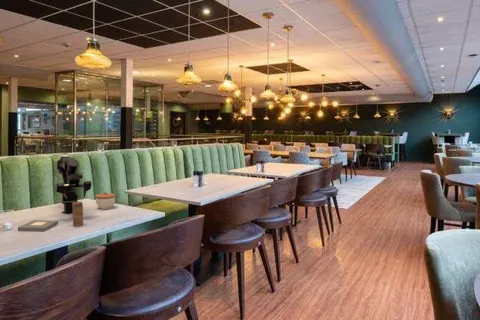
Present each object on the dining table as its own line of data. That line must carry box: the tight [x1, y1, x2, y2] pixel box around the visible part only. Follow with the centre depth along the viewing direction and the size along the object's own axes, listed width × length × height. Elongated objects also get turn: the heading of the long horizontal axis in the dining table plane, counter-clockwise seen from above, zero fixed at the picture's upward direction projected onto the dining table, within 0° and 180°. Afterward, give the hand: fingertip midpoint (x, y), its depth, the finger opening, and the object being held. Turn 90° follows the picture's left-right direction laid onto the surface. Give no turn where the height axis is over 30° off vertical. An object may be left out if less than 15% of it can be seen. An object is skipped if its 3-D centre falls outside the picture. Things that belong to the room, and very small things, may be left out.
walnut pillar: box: [72, 201, 84, 228], centre depth 197 cm, size 5×5×13 cm
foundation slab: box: [17, 219, 59, 233], centre depth 192 cm, size 14×14×2 cm
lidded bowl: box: [94, 191, 116, 210], centre depth 237 cm, size 13×13×11 cm
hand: (76, 197), depth 203 cm, fingers open, 9 cm apart
